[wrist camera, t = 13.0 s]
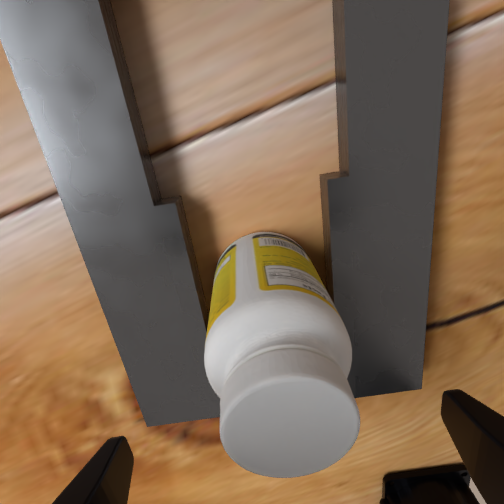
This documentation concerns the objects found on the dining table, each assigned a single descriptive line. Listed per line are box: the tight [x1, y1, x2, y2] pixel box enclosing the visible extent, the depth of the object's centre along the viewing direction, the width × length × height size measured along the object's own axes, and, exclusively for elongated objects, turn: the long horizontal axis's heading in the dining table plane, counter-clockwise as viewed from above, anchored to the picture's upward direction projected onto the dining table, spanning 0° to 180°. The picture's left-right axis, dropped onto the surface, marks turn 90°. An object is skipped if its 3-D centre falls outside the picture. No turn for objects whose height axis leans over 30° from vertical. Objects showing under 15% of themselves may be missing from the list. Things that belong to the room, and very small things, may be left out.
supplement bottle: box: [204, 232, 360, 478], centre depth 13 cm, size 5×5×10 cm
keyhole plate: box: [0, 0, 449, 427], centre depth 16 cm, size 17×24×2 cm
